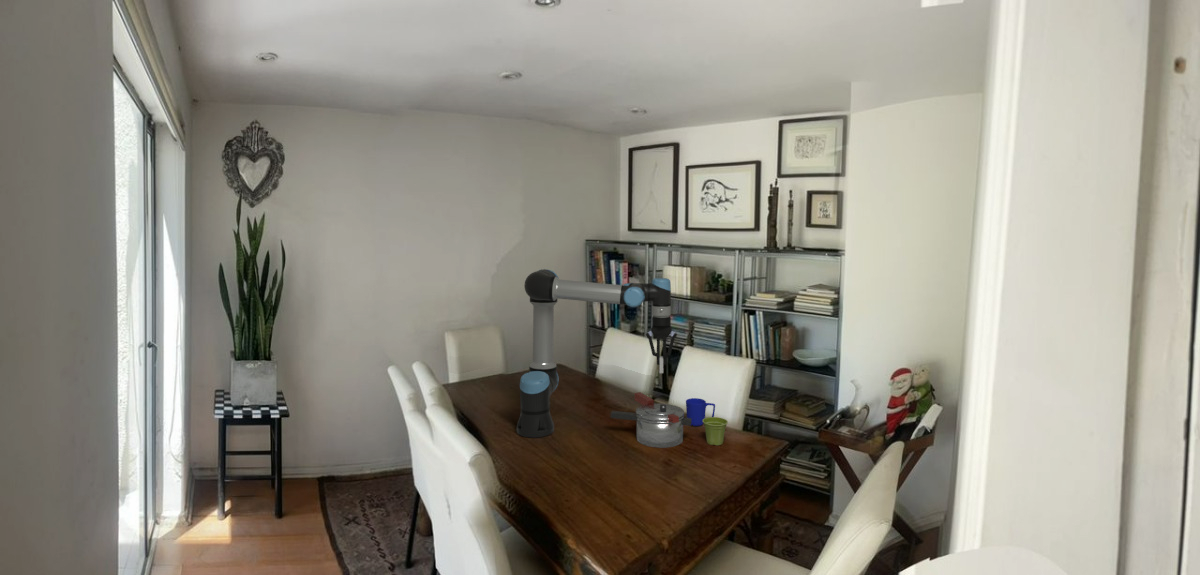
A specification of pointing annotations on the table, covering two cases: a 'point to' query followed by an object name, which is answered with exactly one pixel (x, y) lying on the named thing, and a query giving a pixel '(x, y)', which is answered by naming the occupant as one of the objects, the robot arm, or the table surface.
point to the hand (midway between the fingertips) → (661, 372)
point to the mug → (697, 410)
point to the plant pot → (715, 430)
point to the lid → (657, 410)
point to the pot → (656, 430)
